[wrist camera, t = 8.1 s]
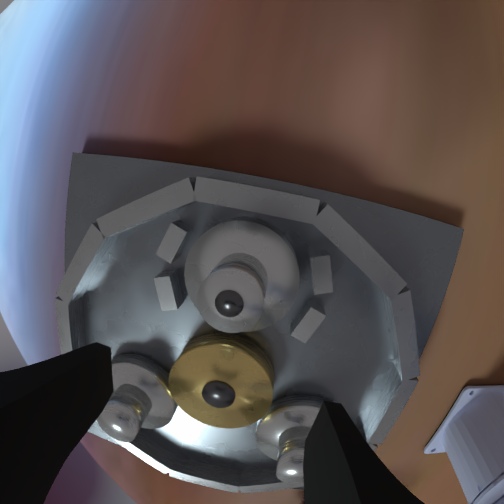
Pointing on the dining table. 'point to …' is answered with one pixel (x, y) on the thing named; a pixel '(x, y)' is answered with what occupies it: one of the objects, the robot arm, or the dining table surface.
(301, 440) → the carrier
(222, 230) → the planet gear
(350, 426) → the robot arm
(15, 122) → the dining table surface
